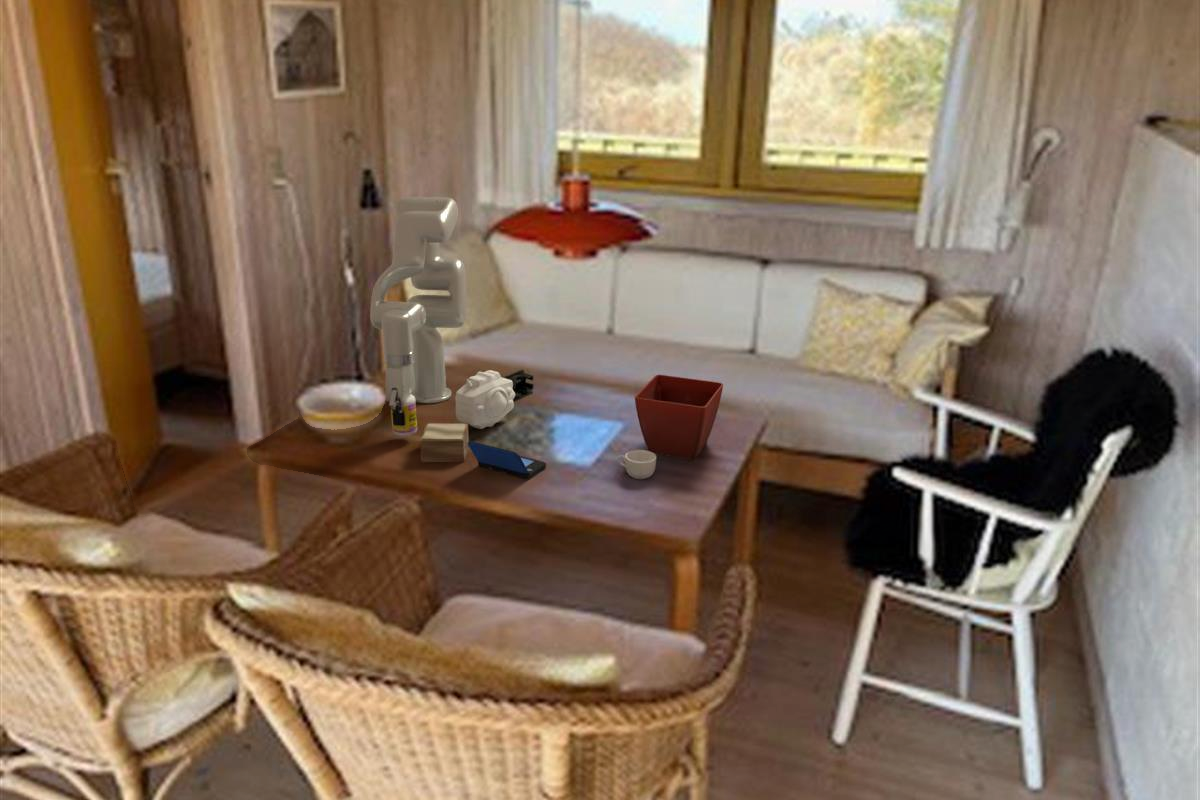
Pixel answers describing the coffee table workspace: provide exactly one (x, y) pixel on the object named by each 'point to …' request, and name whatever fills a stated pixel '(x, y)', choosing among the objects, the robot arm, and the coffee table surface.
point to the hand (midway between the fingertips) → (404, 418)
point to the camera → (484, 399)
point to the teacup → (639, 463)
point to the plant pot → (677, 414)
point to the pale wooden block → (444, 443)
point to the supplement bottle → (407, 417)
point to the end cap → (520, 384)
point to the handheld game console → (505, 461)
